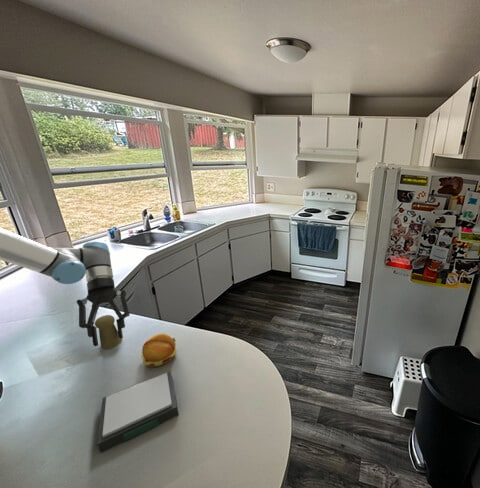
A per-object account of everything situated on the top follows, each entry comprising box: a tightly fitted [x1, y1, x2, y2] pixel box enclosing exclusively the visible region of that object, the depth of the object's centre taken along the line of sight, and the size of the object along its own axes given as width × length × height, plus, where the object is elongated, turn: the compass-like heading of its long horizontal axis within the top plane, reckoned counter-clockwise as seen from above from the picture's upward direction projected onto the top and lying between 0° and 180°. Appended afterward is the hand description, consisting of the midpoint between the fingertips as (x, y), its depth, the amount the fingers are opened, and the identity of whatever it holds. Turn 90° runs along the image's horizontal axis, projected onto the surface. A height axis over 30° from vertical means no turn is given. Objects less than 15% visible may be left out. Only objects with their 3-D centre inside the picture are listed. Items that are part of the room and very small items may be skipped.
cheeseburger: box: [141, 333, 178, 368], centre depth 83 cm, size 10×11×10 cm
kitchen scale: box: [96, 371, 180, 453], centre depth 67 cm, size 16×14×4 cm
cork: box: [94, 314, 123, 350], centre depth 89 cm, size 6×6×11 cm
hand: (108, 341), depth 87 cm, fingers open, 6 cm apart
